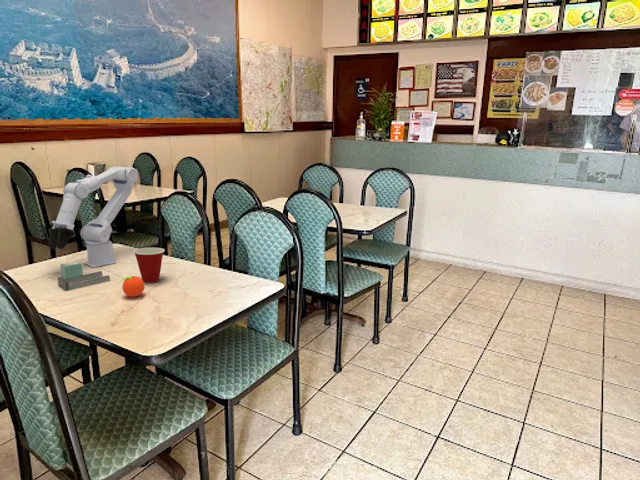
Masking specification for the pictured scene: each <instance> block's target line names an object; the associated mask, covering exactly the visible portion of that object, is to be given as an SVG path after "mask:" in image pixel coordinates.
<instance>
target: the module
mask: <svg viewBox="0 0 640 480" xmlns="http://www.w3.org/2000/svg"><path fill="white" fill-rule="evenodd" d="M60 272H61V277H62V278H63V279H67V278H71V277H76V276H80V275H84V272H83V265H82V262H80V261H78V260H76V261H71V262H70V261H69V262H66V263H65V262H64V263H60Z"/></svg>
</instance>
